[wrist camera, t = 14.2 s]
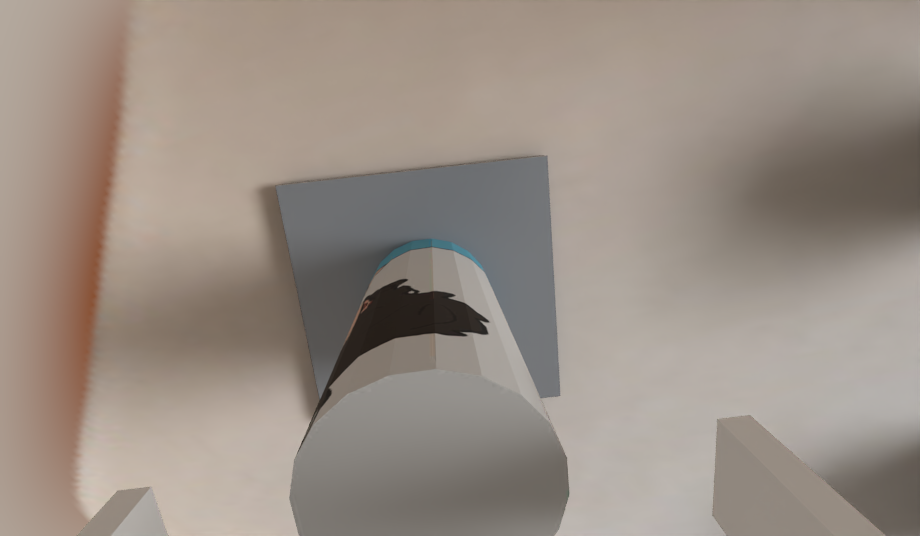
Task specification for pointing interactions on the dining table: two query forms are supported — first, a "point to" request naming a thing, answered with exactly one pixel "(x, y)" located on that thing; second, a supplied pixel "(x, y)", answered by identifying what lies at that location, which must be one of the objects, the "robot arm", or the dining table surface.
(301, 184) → the coaster
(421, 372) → the white printed cylinder
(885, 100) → the dining table surface
